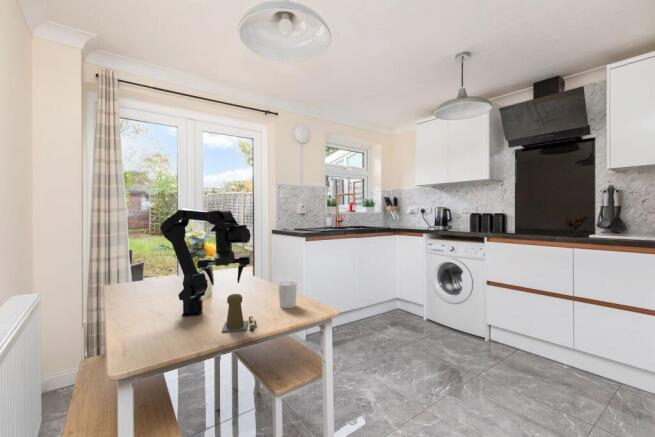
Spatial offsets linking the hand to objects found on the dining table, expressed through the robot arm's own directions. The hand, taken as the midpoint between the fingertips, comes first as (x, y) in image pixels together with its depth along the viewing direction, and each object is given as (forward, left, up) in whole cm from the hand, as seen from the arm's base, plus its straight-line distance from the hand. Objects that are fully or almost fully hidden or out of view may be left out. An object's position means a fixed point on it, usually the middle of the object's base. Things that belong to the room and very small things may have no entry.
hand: (225, 284), depth 115 cm
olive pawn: (+4, -10, -13) cm, 17 cm away
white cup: (+24, +10, -13) cm, 29 cm away
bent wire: (+11, -9, -13) cm, 19 cm away
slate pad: (+5, -10, -13) cm, 17 cm away
